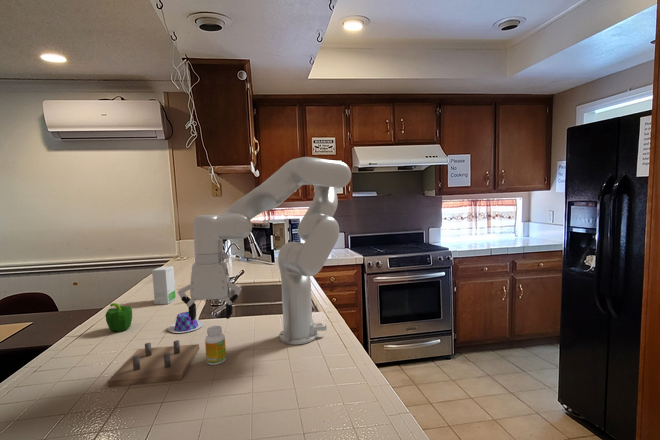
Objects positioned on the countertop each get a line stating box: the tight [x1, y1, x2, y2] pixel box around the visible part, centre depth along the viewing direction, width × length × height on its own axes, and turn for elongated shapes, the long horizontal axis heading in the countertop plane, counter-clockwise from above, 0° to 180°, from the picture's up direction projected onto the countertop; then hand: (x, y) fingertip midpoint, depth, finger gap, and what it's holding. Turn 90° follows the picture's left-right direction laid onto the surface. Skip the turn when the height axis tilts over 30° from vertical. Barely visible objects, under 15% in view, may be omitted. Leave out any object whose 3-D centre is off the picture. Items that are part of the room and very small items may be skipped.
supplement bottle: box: [204, 325, 227, 366], centre depth 99 cm, size 5×5×10 cm
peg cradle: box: [107, 340, 200, 387], centre depth 98 cm, size 18×18×5 cm
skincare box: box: [151, 265, 177, 305], centre depth 157 cm, size 8×7×16 cm
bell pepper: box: [105, 302, 133, 332], centre depth 125 cm, size 8×8×10 cm
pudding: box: [167, 311, 205, 334], centre depth 126 cm, size 12×12×5 cm
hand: (211, 318), depth 98 cm, fingers open, 9 cm apart
